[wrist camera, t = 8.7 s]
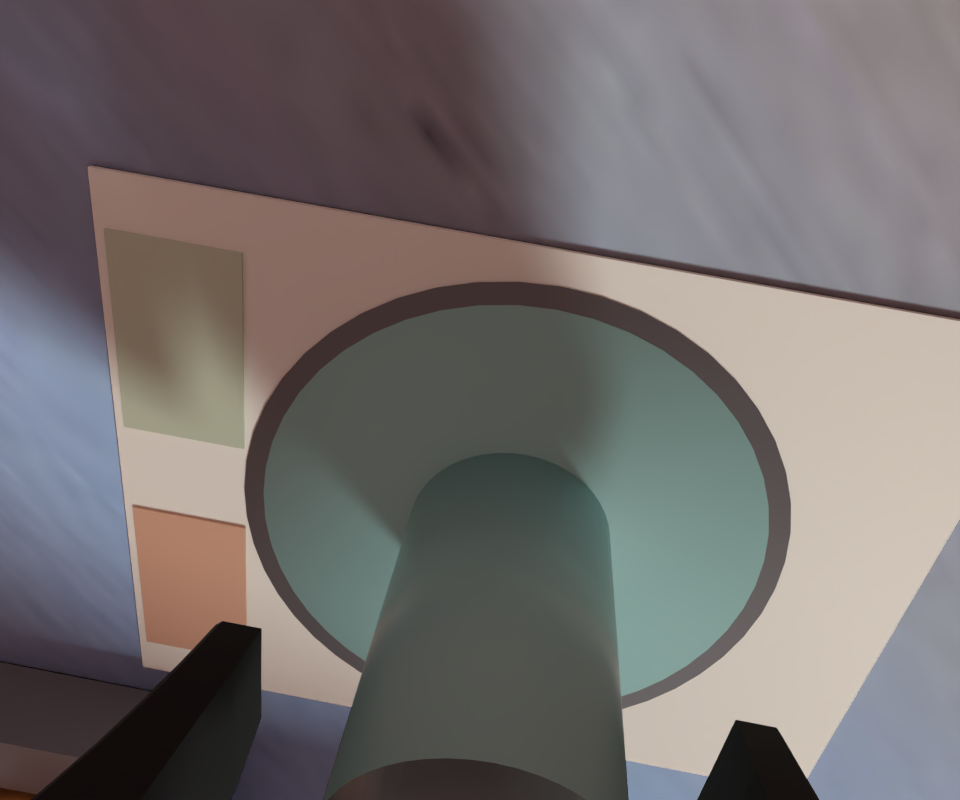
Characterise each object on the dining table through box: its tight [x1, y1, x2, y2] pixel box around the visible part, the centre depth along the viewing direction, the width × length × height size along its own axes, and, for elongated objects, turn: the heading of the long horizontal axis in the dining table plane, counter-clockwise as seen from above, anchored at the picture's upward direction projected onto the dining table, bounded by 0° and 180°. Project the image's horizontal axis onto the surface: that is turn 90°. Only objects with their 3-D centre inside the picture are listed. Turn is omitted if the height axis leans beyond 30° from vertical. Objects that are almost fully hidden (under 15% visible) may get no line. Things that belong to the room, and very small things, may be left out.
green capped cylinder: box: [323, 453, 628, 800], centre depth 11 cm, size 4×4×8 cm
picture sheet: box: [87, 165, 960, 778], centre depth 15 cm, size 12×16×1 cm
